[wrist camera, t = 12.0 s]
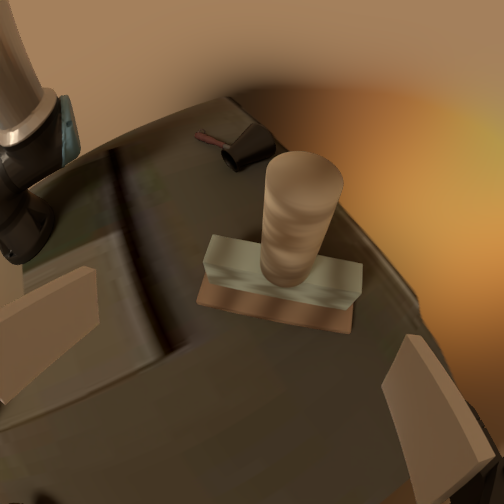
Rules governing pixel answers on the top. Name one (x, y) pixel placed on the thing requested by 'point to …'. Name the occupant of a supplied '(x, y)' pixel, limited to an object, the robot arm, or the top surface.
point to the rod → (296, 214)
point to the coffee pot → (244, 146)
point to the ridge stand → (279, 288)
